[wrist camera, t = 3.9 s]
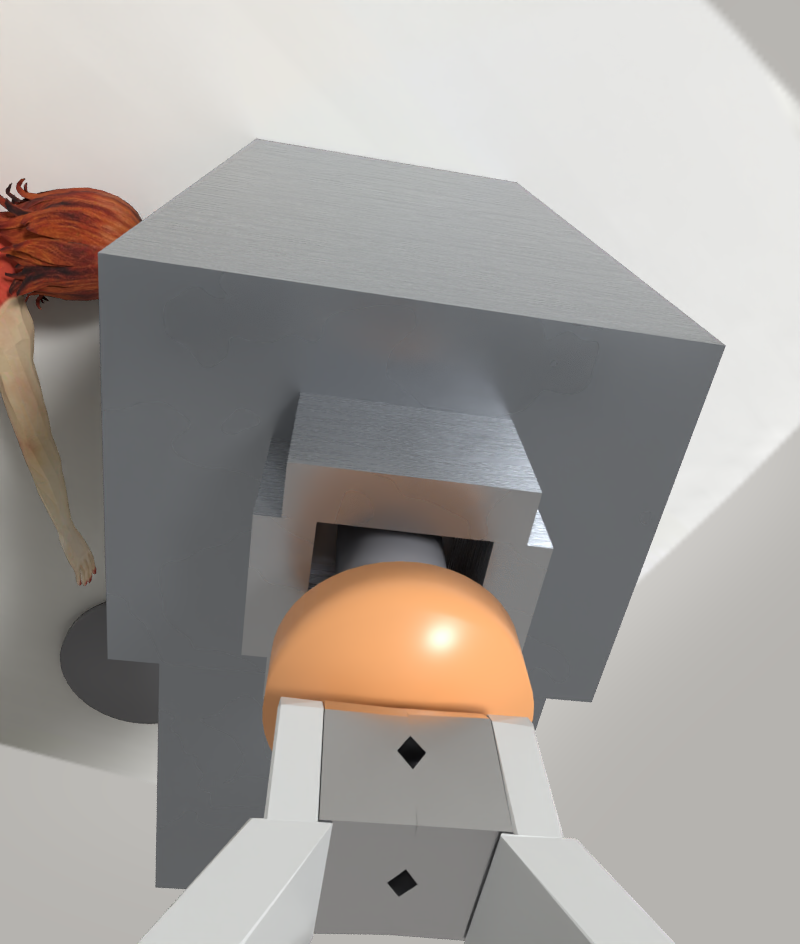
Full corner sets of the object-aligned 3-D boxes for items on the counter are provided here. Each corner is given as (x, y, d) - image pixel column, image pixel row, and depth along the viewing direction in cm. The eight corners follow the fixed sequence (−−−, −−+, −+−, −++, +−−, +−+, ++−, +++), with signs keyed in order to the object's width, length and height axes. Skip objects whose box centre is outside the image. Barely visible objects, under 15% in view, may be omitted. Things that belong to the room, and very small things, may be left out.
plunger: (283, 596, 14) (252, 800, 10) (301, 430, 12) (273, 597, 9) (463, 614, 14) (500, 818, 11) (503, 456, 13) (564, 626, 9)
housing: (232, 491, 35) (79, 996, 16) (256, 138, 28) (34, 298, 9) (443, 515, 36) (533, 1015, 17) (517, 182, 29) (802, 406, 10)
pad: (67, 708, 41) (63, 717, 41) (60, 590, 38) (56, 598, 37) (217, 721, 42) (215, 729, 42) (224, 607, 38) (223, 614, 38)
